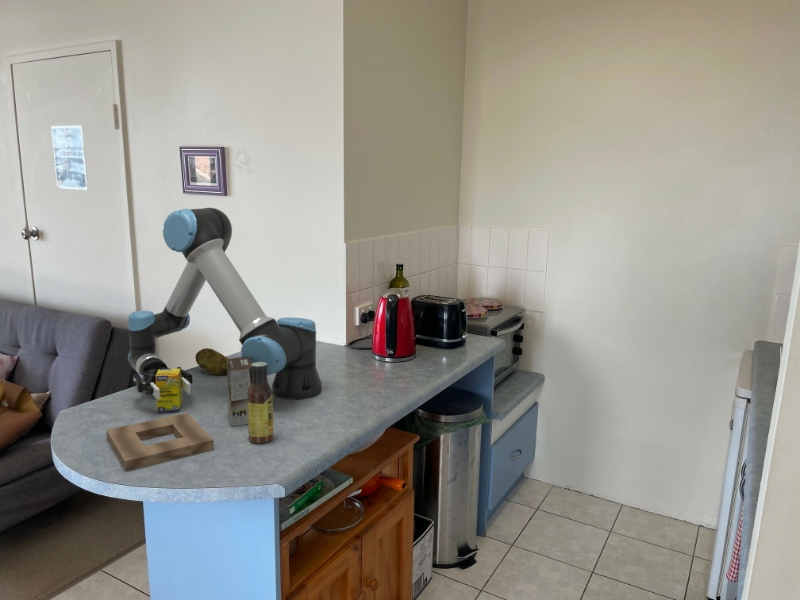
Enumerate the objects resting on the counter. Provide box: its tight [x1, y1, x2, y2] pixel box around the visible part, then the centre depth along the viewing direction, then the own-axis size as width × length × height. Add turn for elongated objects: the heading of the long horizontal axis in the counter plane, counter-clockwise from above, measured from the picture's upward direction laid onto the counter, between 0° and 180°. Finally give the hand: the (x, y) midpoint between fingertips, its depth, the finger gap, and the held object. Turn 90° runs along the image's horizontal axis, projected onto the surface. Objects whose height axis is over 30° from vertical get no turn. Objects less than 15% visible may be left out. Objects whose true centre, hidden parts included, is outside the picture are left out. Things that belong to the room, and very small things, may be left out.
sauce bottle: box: [247, 362, 274, 444], centre depth 150 cm, size 7×6×20 cm
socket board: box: [106, 412, 215, 472], centre depth 147 cm, size 20×20×2 cm
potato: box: [195, 347, 229, 376], centre depth 199 cm, size 8×13×8 cm, turn 58°
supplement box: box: [155, 368, 183, 413], centre depth 168 cm, size 6×6×11 cm
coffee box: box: [226, 356, 252, 427], centre depth 162 cm, size 9×6×16 cm
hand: (174, 391), depth 164 cm, fingers closed on supplement box, 8 cm apart
